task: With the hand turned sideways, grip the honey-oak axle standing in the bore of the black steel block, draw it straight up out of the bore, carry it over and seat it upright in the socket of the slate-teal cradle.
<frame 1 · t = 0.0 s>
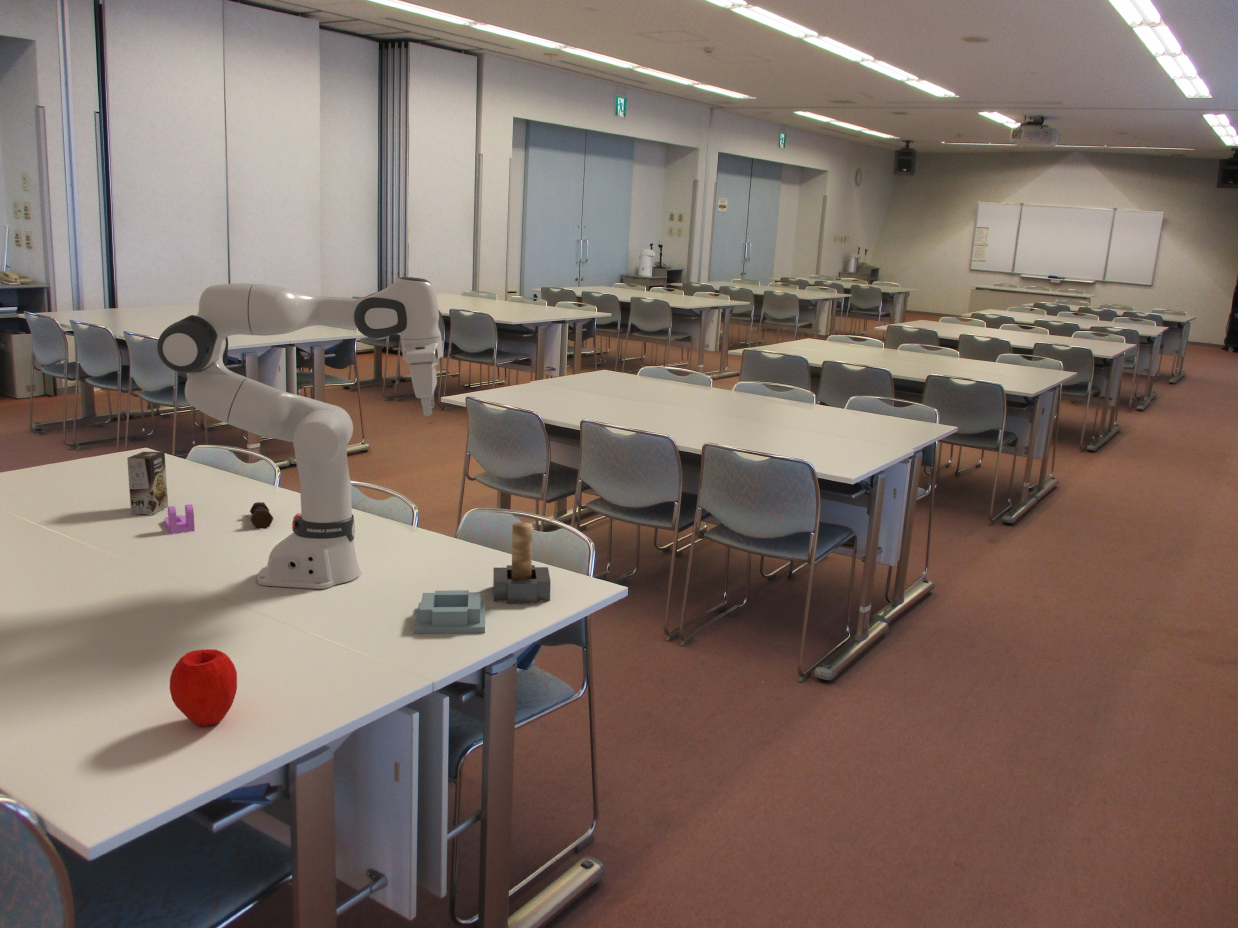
hand: (429, 411, 213), 39 cm above the table, tool pointing down, fingers open, 8 cm apart
cookie box: (150, 511, 264), on the table
steel bore block: (521, 593, 212), on the table
bracket: (178, 527, 251), on the table
apple: (206, 722, 151), on the table
bolt: (261, 522, 259), on the table
oak axle: (521, 559, 210), in the steel bore block
teal cradle: (451, 619, 196), on the table
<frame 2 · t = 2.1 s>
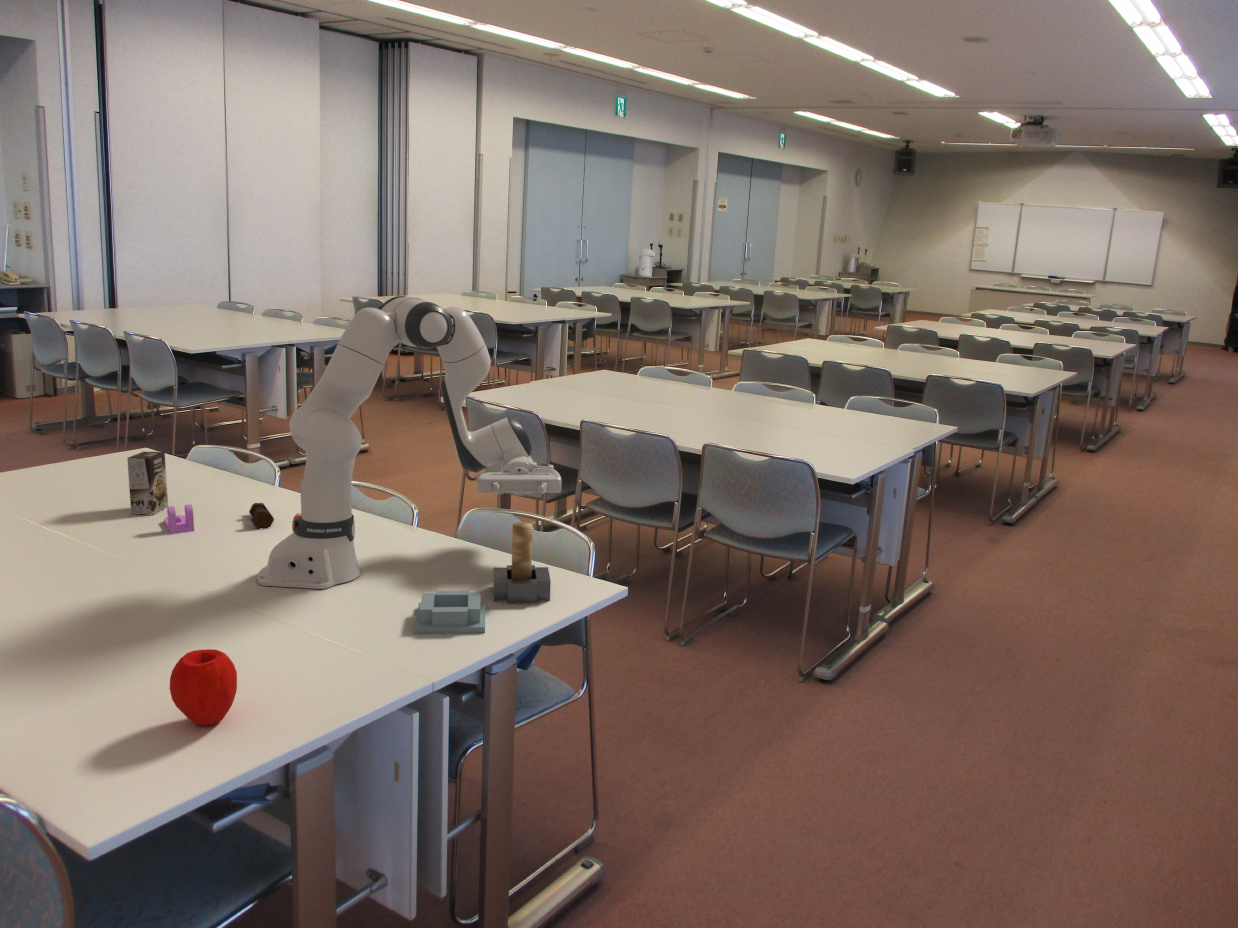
hand: (520, 491, 222), 20 cm above the table, tool horizontal, fingers open, 8 cm apart
nothing on the table moved.
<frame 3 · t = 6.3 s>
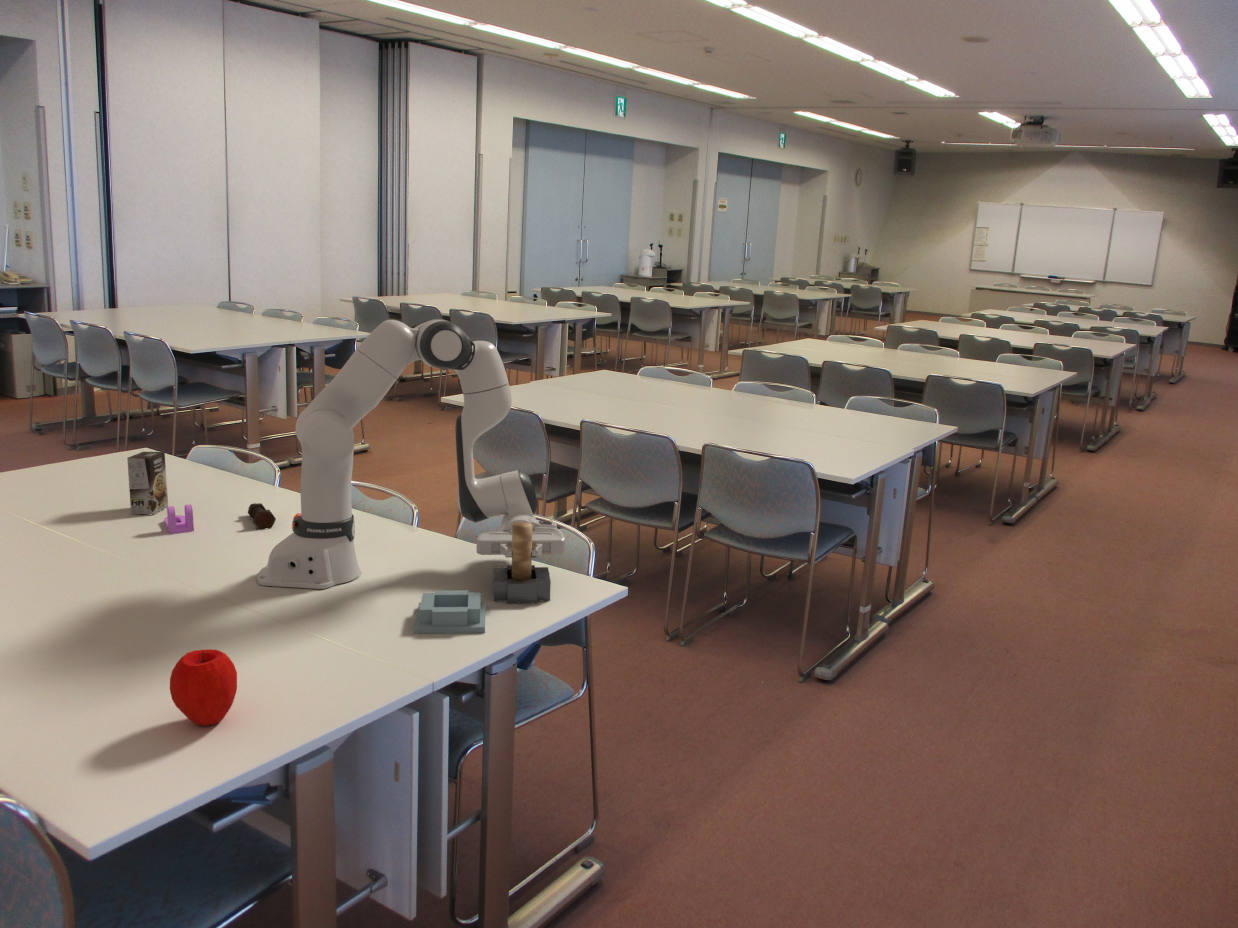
hand: (522, 554, 209), 10 cm above the table, tool horizontal, fingers closed on oak axle, 4 cm apart
oak axle: (521, 559, 210), in the steel bore block, touching gripper
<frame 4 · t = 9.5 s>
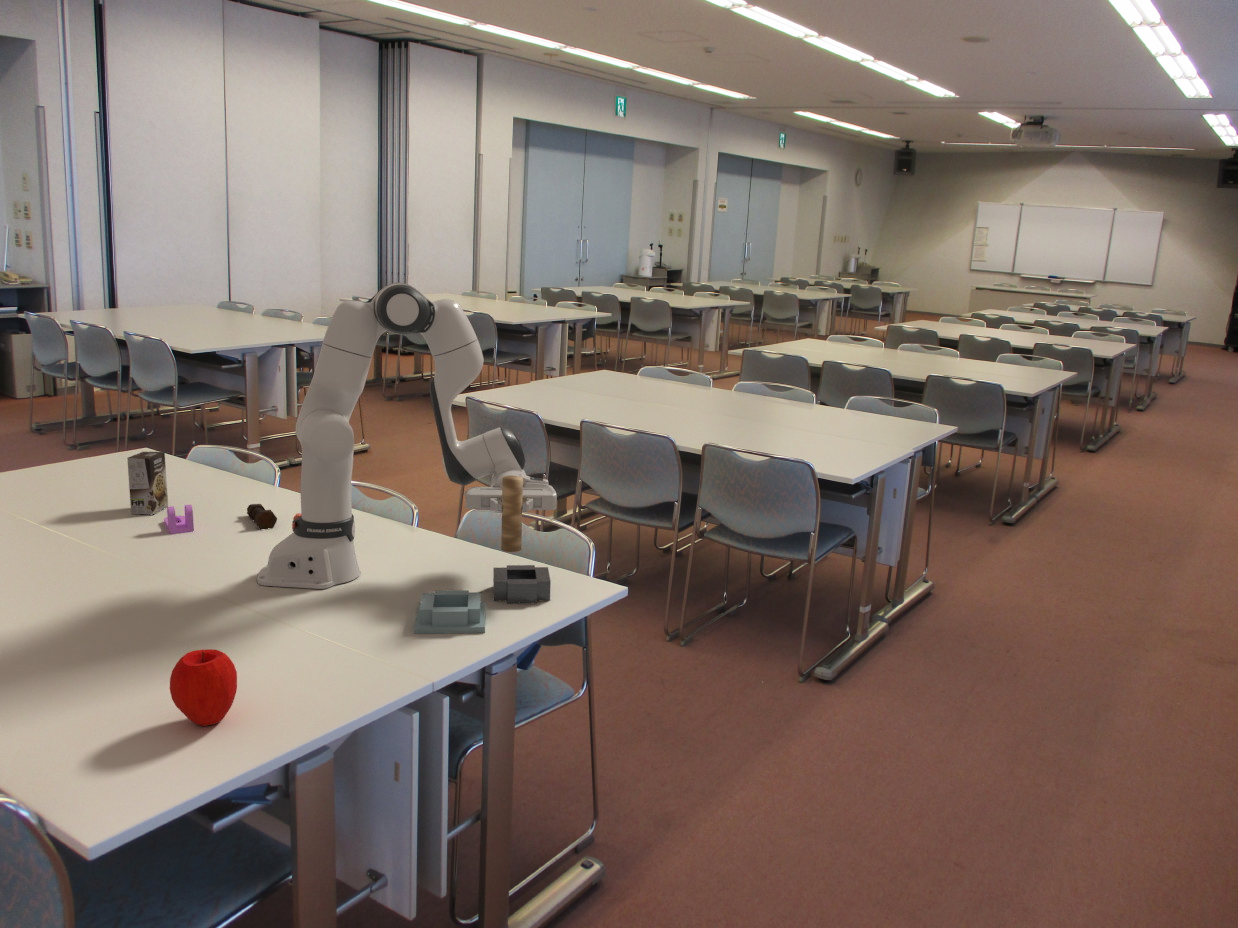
hand: (512, 508, 204), 21 cm above the table, tool horizontal, fingers closed on oak axle, 4 cm apart
oak axle: (511, 513, 206), point 19 cm above the table, touching gripper
when the fingers open (12 cm above the table, at t = 13.6 s): oak axle drops 1 cm, point 9 cm above the table.
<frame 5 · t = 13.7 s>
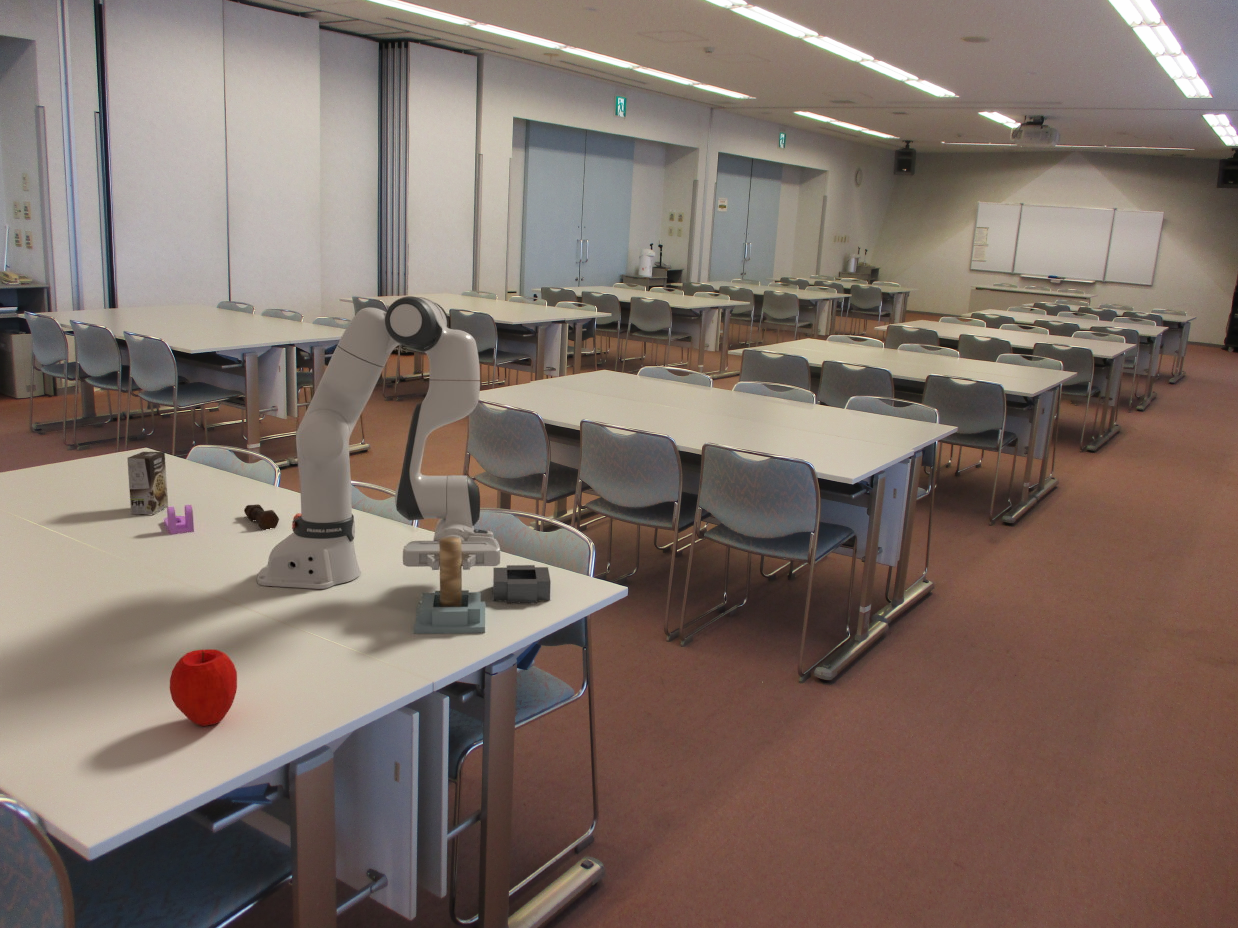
hand: (450, 566, 192), 12 cm above the table, tool horizontal, fingers open, 5 cm apart
oak axle: (450, 577, 194), in the teal cradle, point 9 cm above the table
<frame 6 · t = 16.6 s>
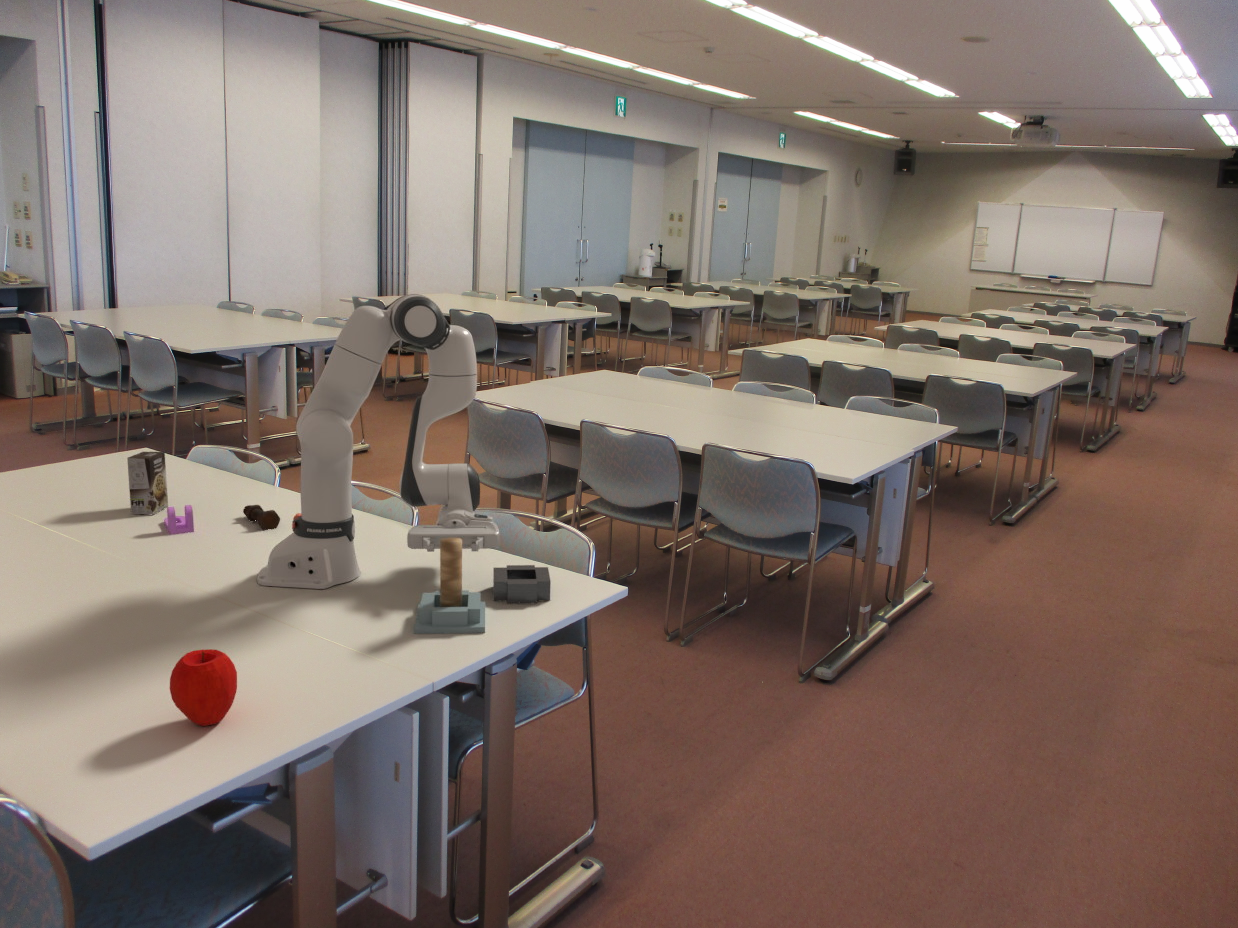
hand: (452, 548, 204), 12 cm above the table, tool horizontal, fingers open, 8 cm apart
oak axle: (451, 577, 194), in the teal cradle, point 9 cm above the table
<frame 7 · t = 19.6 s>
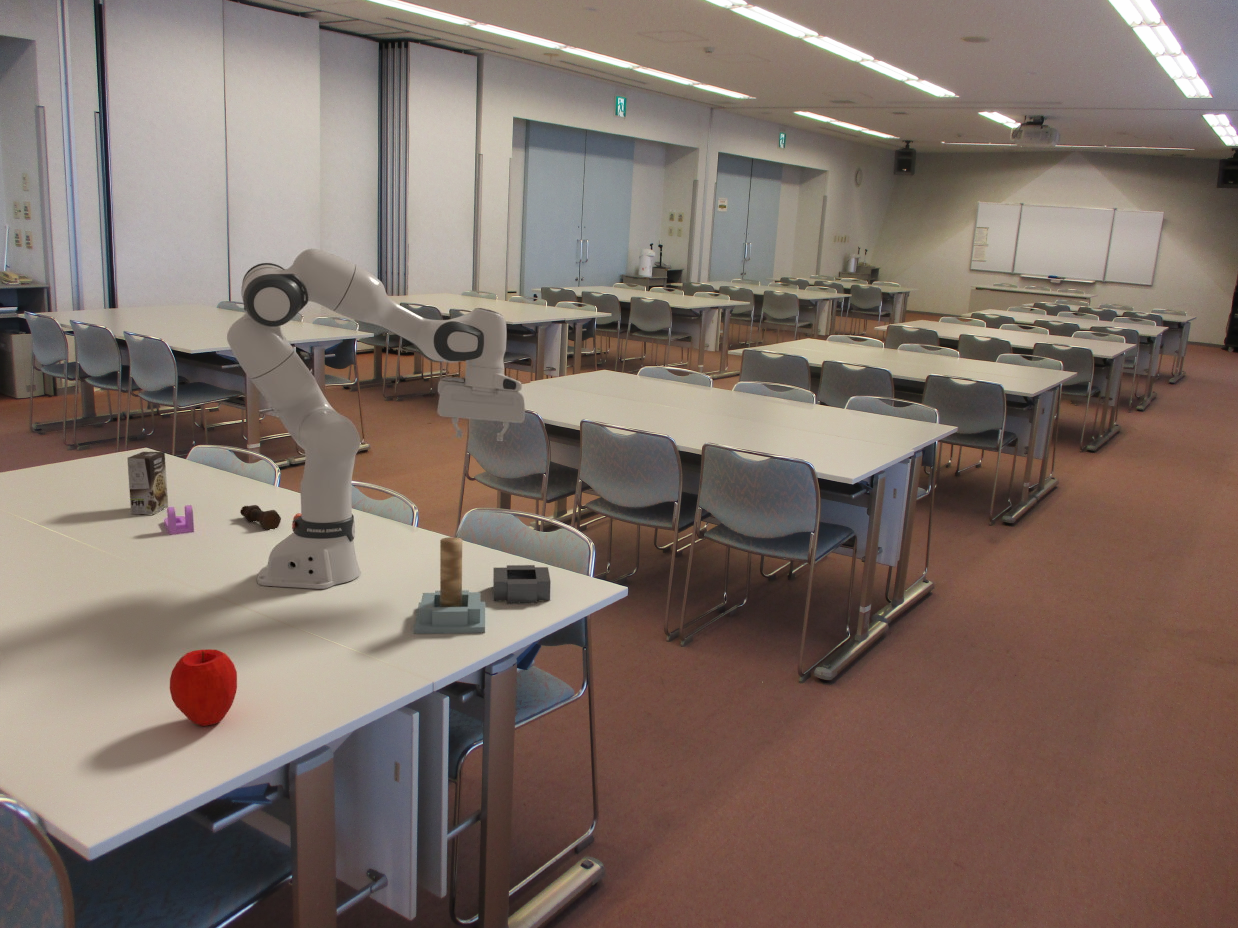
hand: (479, 439, 220), 32 cm above the table, tool pointing down, fingers open, 8 cm apart
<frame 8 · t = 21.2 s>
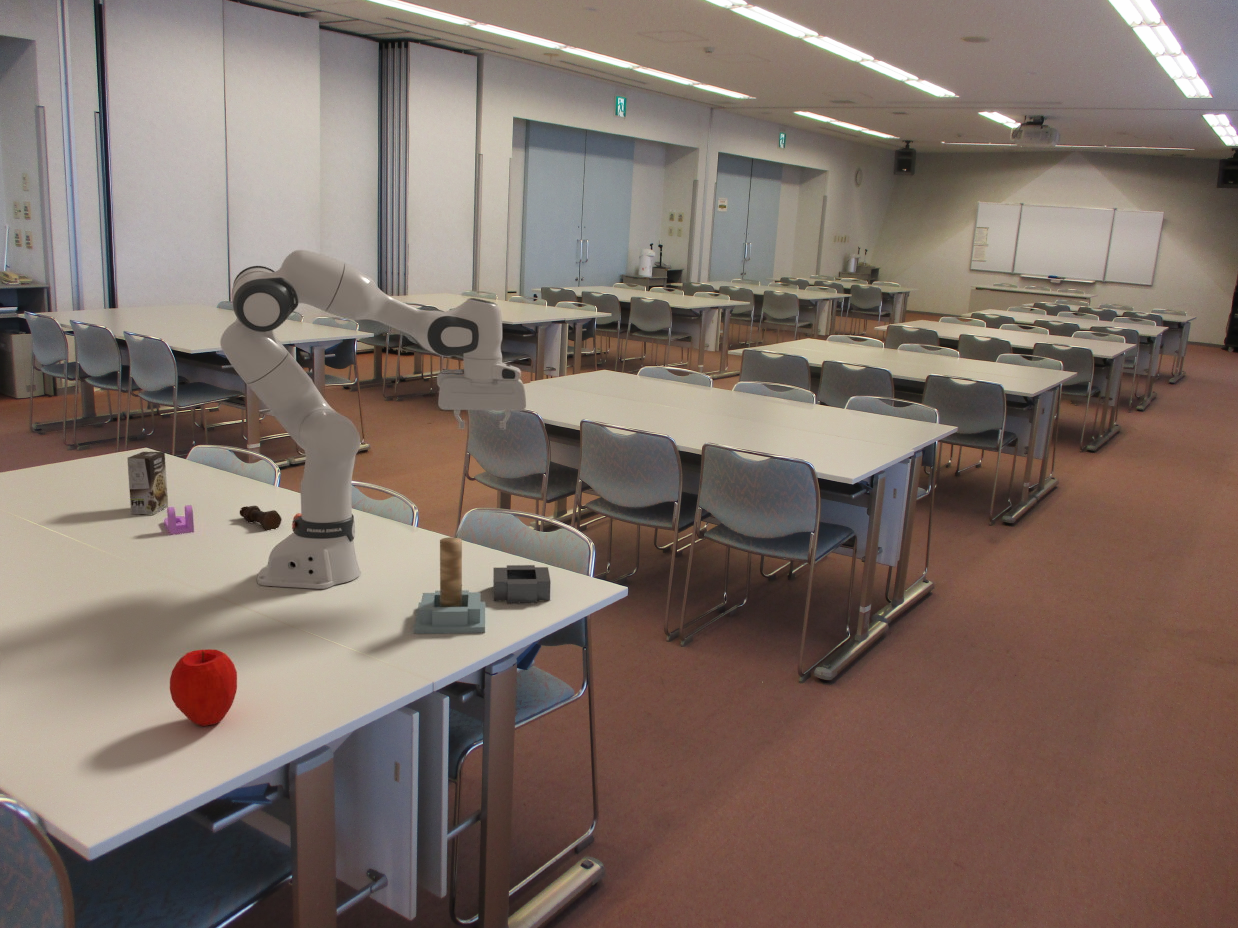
hand: (482, 428, 221), 34 cm above the table, tool pointing down, fingers open, 8 cm apart
at the end: oak axle 0.0 cm off-centre on the teal cradle, point 9.2 cm above the teal cradle's base; oak axle tilted 0°; the gripper is holding nothing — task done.
